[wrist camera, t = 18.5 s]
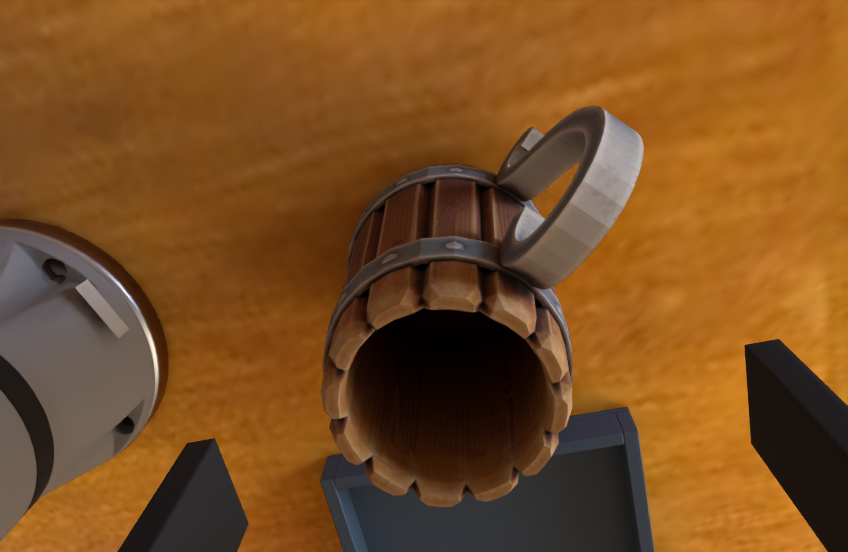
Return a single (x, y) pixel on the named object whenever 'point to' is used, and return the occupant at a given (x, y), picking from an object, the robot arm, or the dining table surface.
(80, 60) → the dining table surface
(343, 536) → the tray
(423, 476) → the mug
